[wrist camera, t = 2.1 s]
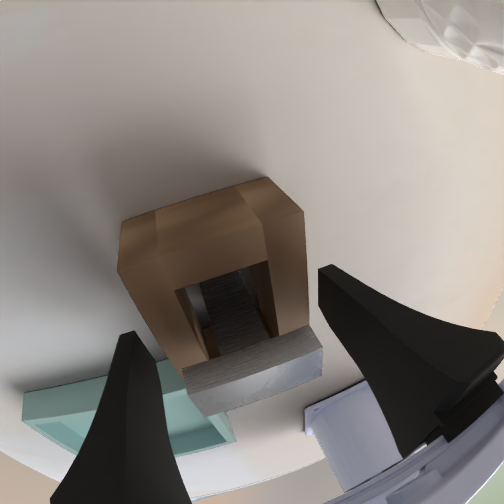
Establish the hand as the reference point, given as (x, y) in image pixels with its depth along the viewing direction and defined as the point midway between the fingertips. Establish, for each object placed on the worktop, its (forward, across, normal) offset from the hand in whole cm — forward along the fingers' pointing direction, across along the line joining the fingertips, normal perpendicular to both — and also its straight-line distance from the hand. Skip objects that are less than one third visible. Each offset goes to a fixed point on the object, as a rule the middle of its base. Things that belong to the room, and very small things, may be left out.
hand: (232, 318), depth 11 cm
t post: (+2, 0, 0) cm, 2 cm away
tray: (+2, +8, +9) cm, 13 cm away
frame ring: (+2, 0, 0) cm, 2 cm away
